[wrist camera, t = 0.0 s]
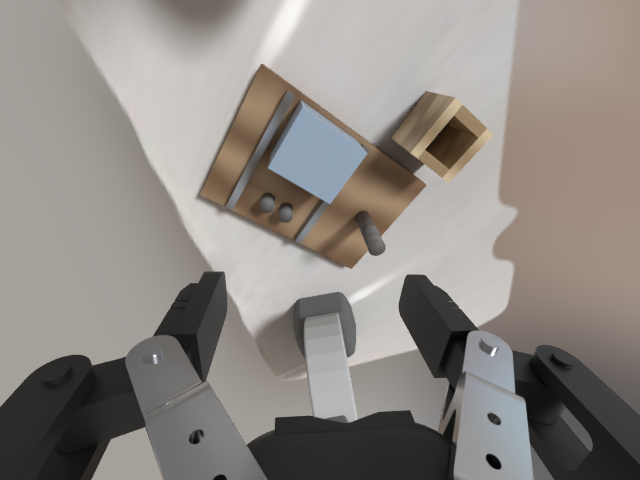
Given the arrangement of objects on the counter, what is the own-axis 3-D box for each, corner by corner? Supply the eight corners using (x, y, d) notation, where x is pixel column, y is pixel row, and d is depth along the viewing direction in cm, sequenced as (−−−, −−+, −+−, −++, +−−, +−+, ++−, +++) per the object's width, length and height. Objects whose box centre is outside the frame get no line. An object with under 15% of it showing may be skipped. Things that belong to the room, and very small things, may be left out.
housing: (300, 99, 26) (302, 107, 22) (356, 140, 29) (367, 153, 25) (271, 152, 29) (267, 168, 25) (324, 185, 31) (330, 204, 27)
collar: (426, 91, 28) (455, 97, 23) (460, 122, 30) (493, 134, 25) (390, 137, 31) (410, 153, 26) (424, 164, 33) (448, 182, 28)
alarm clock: (285, 292, 42) (282, 421, 27) (349, 281, 42) (381, 404, 27) (303, 352, 51) (309, 474, 36) (356, 343, 51) (384, 462, 36)
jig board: (262, 63, 26) (251, 65, 19) (421, 180, 34) (455, 212, 27) (203, 189, 32) (178, 225, 25) (349, 262, 40) (362, 305, 33)
